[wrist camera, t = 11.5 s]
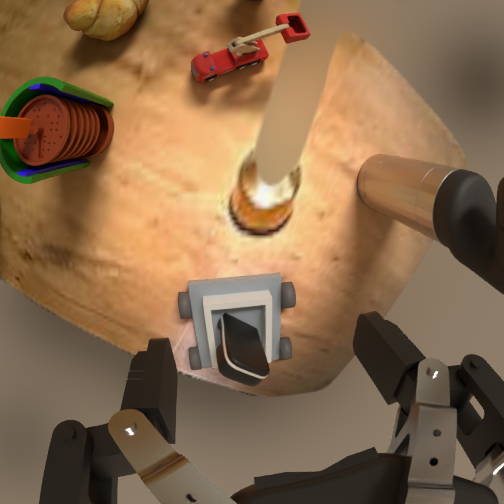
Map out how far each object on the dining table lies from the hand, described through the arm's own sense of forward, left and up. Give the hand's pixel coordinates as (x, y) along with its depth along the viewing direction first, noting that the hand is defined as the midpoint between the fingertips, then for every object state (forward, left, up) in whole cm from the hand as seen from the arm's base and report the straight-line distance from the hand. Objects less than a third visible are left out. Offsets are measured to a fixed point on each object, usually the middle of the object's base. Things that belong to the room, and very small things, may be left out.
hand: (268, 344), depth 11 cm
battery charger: (0, +20, -29) cm, 35 cm away
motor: (+19, -12, -30) cm, 38 cm away
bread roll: (+14, -31, -30) cm, 46 cm away
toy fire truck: (-3, -20, -30) cm, 37 cm away
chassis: (-1, +20, -30) cm, 36 cm away
